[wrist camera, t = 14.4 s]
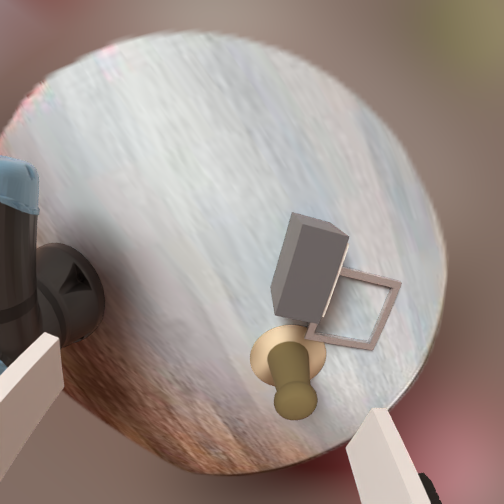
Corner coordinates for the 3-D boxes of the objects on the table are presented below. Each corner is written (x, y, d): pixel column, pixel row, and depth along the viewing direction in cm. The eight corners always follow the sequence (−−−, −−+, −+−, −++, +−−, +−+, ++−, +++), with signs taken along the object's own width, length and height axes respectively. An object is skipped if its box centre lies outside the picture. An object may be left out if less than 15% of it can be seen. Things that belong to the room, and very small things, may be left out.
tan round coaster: (242, 379, 44) (242, 380, 44) (261, 317, 41) (261, 318, 41) (310, 390, 45) (311, 391, 45) (336, 332, 42) (337, 333, 42)
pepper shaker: (268, 377, 44) (273, 429, 33) (265, 343, 42) (269, 395, 32) (309, 372, 44) (322, 423, 33) (308, 338, 42) (323, 388, 31)
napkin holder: (270, 287, 40) (274, 315, 33) (292, 212, 38) (302, 223, 30) (309, 296, 41) (322, 324, 33) (333, 223, 38) (352, 237, 30)
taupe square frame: (303, 335, 42) (304, 338, 42) (329, 262, 39) (330, 264, 39) (371, 347, 43) (372, 350, 42) (399, 280, 40) (401, 282, 39)
